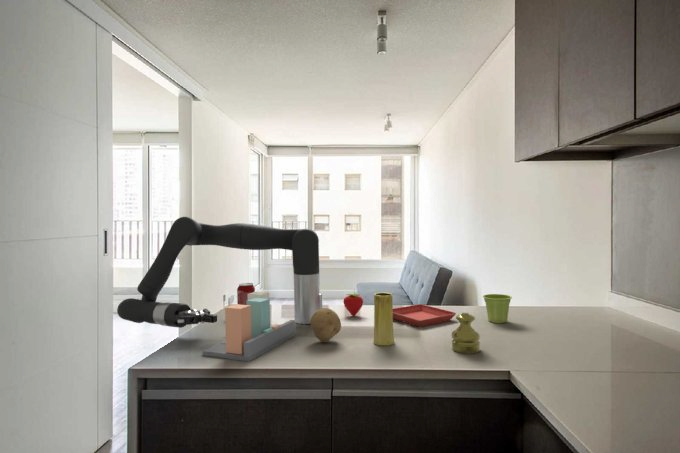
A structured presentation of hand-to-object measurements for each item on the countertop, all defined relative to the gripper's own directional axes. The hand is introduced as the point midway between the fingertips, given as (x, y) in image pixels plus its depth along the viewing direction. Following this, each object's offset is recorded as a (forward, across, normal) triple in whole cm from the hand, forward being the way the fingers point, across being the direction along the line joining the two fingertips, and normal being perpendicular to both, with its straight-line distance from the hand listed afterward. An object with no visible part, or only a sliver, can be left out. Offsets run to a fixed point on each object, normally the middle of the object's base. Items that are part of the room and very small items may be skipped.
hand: (215, 318), depth 123 cm
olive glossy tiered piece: (+72, +15, +6) cm, 74 cm away
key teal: (+15, 0, +5) cm, 16 cm away
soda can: (-12, +32, +7) cm, 35 cm away
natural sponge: (+33, +10, +7) cm, 35 cm away
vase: (+49, +14, +6) cm, 51 cm away
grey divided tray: (+13, 0, +6) cm, 15 cm away
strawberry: (+29, +43, +6) cm, 52 cm away
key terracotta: (+15, -9, +5) cm, 19 cm away
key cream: (+9, +10, +5) cm, 14 cm away
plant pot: (+79, +50, +6) cm, 94 cm away
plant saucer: (+54, +45, +7) cm, 70 cm away
